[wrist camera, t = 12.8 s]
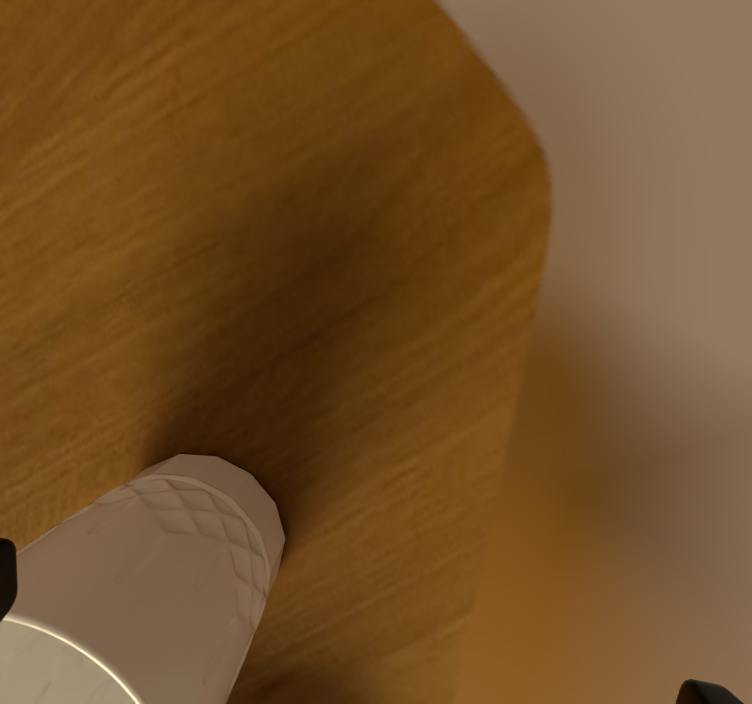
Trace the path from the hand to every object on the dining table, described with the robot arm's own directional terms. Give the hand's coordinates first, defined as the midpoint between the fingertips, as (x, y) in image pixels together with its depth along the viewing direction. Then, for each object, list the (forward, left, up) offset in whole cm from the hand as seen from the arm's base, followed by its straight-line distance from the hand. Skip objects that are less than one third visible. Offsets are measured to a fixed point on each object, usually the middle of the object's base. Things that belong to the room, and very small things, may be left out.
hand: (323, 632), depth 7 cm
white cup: (+1, +10, -13) cm, 17 cm away
